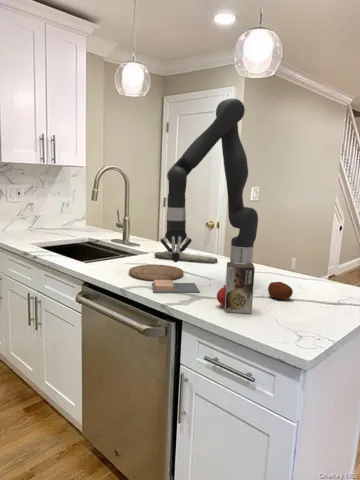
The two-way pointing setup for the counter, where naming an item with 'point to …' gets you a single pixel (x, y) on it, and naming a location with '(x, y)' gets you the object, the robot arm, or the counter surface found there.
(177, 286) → the mat
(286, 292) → the potato
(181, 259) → the elongated rock
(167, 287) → the tile
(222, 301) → the pomegranate
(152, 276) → the trivet
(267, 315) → the counter surface
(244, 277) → the coffee box
